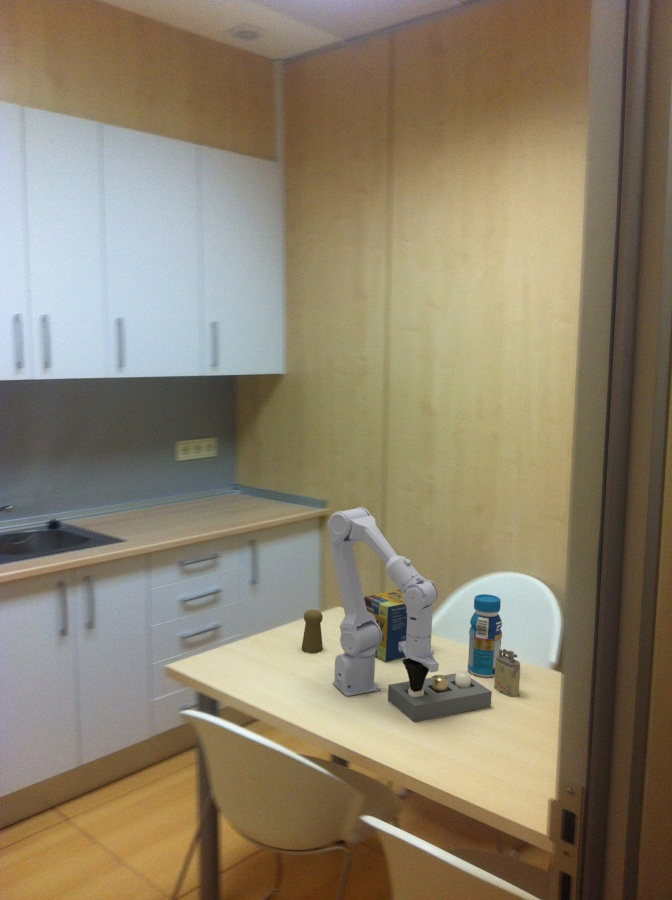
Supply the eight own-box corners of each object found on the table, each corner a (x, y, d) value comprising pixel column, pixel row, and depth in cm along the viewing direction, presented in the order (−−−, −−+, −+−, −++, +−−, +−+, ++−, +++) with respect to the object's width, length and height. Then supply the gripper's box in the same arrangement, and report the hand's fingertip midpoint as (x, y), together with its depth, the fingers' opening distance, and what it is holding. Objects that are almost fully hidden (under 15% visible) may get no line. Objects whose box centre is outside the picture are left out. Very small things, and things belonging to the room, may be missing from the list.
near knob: (412, 712, 174) (413, 694, 173) (404, 705, 177) (405, 688, 177) (426, 709, 175) (426, 692, 175) (417, 703, 179) (418, 685, 178)
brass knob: (437, 699, 176) (438, 681, 176) (428, 693, 180) (429, 676, 179) (450, 697, 178) (451, 679, 177) (441, 691, 181) (442, 673, 181)
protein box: (360, 650, 211) (362, 596, 209) (402, 640, 220) (404, 588, 218) (385, 663, 203) (387, 606, 201) (427, 651, 212) (429, 597, 210)
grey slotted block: (413, 722, 169) (414, 705, 169) (387, 700, 180) (388, 684, 179) (490, 707, 178) (491, 691, 178) (461, 686, 189) (462, 672, 188)
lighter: (521, 695, 185) (524, 655, 184) (510, 698, 183) (513, 658, 182) (500, 684, 191) (503, 646, 190) (489, 687, 189) (492, 648, 188)
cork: (322, 653, 207) (324, 614, 206) (300, 653, 208) (301, 614, 206) (323, 645, 213) (324, 607, 212) (301, 645, 214) (303, 607, 212)
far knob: (460, 695, 179) (461, 677, 179) (451, 689, 182) (452, 672, 182) (473, 693, 181) (474, 675, 180) (464, 687, 184) (465, 670, 183)
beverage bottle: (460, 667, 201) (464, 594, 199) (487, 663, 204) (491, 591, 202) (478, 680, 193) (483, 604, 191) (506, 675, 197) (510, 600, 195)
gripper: (451, 642, 169) (448, 700, 171) (417, 621, 182) (414, 676, 184) (424, 646, 166) (421, 705, 168) (391, 625, 179) (389, 680, 181)
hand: (416, 690), depth 176 cm, fingers closed, pressing on near knob
